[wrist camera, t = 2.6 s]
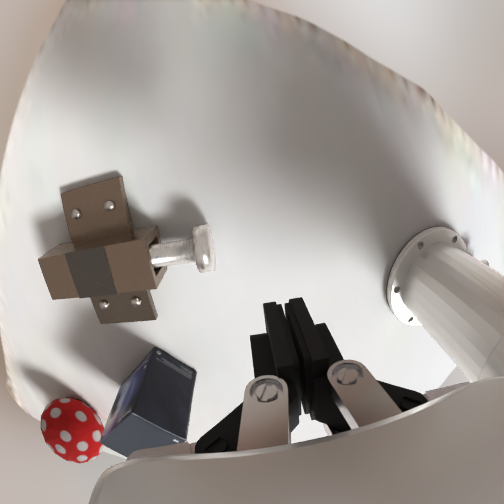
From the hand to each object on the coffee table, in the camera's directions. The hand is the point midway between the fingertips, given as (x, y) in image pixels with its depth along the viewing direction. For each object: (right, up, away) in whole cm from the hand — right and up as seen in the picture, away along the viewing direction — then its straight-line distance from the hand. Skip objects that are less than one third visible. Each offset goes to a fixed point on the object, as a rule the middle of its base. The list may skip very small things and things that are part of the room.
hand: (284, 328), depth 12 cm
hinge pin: (-12, +3, +14) cm, 19 cm away
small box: (-14, -13, +20) cm, 28 cm away
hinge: (-16, +3, +14) cm, 21 cm away
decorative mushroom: (-31, -24, +23) cm, 46 cm away
